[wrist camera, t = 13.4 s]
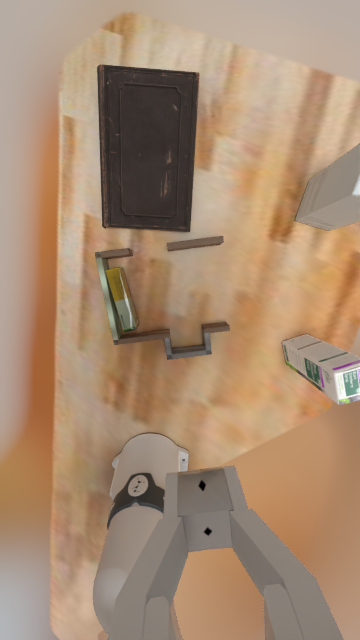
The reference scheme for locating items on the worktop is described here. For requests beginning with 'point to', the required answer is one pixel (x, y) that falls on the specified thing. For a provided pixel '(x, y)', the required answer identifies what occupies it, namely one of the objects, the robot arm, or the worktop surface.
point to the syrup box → (325, 367)
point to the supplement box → (333, 194)
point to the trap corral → (160, 334)
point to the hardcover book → (147, 146)
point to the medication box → (122, 299)
